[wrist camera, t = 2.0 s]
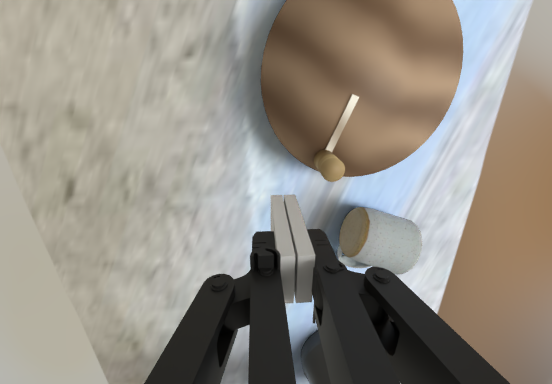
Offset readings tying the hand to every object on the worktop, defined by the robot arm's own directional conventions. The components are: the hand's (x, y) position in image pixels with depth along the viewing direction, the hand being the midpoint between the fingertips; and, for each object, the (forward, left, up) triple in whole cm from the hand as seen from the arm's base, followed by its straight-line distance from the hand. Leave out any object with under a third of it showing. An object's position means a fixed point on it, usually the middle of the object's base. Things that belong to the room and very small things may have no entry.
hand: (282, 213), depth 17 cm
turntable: (+11, -5, -15) cm, 19 cm away
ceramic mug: (-6, -18, -17) cm, 25 cm away
